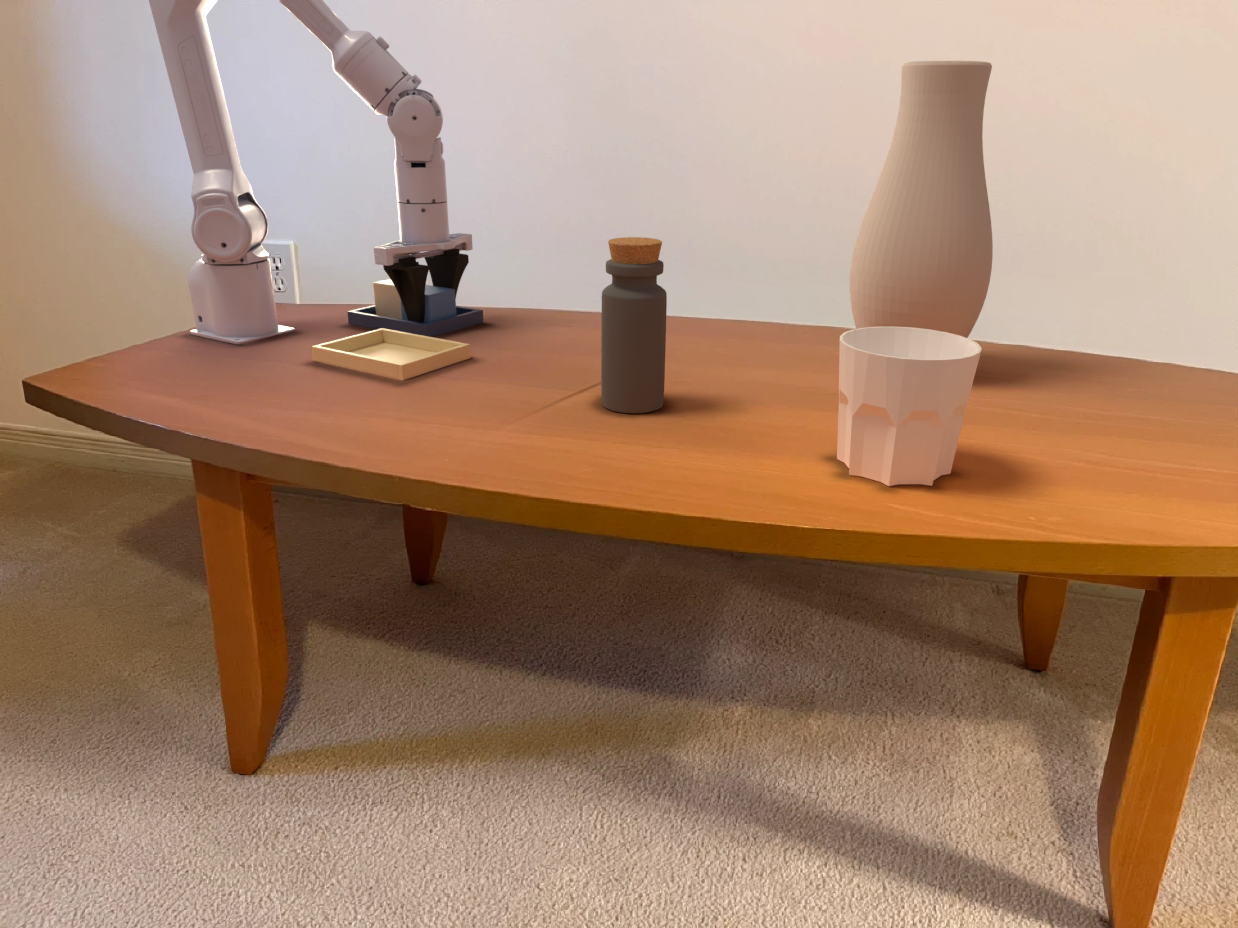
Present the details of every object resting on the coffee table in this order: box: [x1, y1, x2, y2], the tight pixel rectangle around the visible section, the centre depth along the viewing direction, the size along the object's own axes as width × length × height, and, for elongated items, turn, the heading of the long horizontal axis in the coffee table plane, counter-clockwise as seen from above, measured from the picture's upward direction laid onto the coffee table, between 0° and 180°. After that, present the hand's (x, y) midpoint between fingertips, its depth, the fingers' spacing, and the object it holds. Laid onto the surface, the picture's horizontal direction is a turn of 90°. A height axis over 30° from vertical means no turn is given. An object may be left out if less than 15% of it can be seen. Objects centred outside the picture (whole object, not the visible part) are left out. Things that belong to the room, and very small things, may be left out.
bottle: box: [600, 236, 668, 414], centre depth 81 cm, size 6×6×15 cm
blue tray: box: [347, 304, 484, 337], centre depth 112 cm, size 13×10×2 cm
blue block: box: [401, 284, 457, 324], centre depth 109 cm, size 5×5×5 cm
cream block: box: [372, 278, 403, 320], centre depth 114 cm, size 5×5×5 cm
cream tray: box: [311, 328, 471, 381], centre depth 96 cm, size 13×10×2 cm
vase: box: [849, 60, 994, 339], centre depth 91 cm, size 14×14×30 cm
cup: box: [836, 327, 983, 487], centre depth 68 cm, size 10×10×10 cm
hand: (430, 317), depth 109 cm, fingers closed on blue block, 4 cm apart
